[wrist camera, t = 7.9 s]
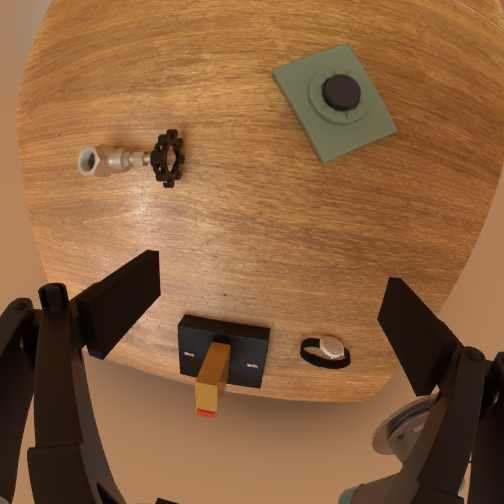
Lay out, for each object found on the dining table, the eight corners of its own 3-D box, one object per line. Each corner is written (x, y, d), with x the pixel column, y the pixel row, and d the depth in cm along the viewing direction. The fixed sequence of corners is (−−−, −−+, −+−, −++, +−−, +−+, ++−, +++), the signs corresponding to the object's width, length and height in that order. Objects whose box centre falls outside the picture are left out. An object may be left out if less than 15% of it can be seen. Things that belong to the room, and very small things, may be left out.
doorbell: (391, 133, 27) (404, 129, 23) (320, 164, 29) (325, 162, 25) (344, 50, 25) (351, 36, 21) (272, 76, 27) (270, 64, 23)
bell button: (362, 103, 23) (367, 99, 22) (333, 115, 24) (337, 111, 23) (346, 75, 23) (349, 69, 21) (317, 85, 23) (319, 80, 22)
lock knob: (211, 341, 34) (194, 383, 26) (230, 344, 34) (217, 387, 26) (211, 373, 36) (196, 415, 28) (228, 377, 36) (216, 419, 28)
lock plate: (270, 328, 36) (268, 341, 33) (262, 375, 39) (260, 389, 36) (184, 314, 37) (177, 325, 34) (186, 362, 39) (179, 374, 36)
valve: (105, 185, 33) (183, 186, 32) (74, 189, 26) (160, 190, 25) (107, 138, 31) (186, 132, 30) (76, 134, 24) (164, 124, 23)
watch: (355, 343, 35) (360, 358, 32) (338, 366, 37) (342, 382, 33) (308, 327, 35) (310, 342, 32) (293, 352, 37) (293, 368, 33)
